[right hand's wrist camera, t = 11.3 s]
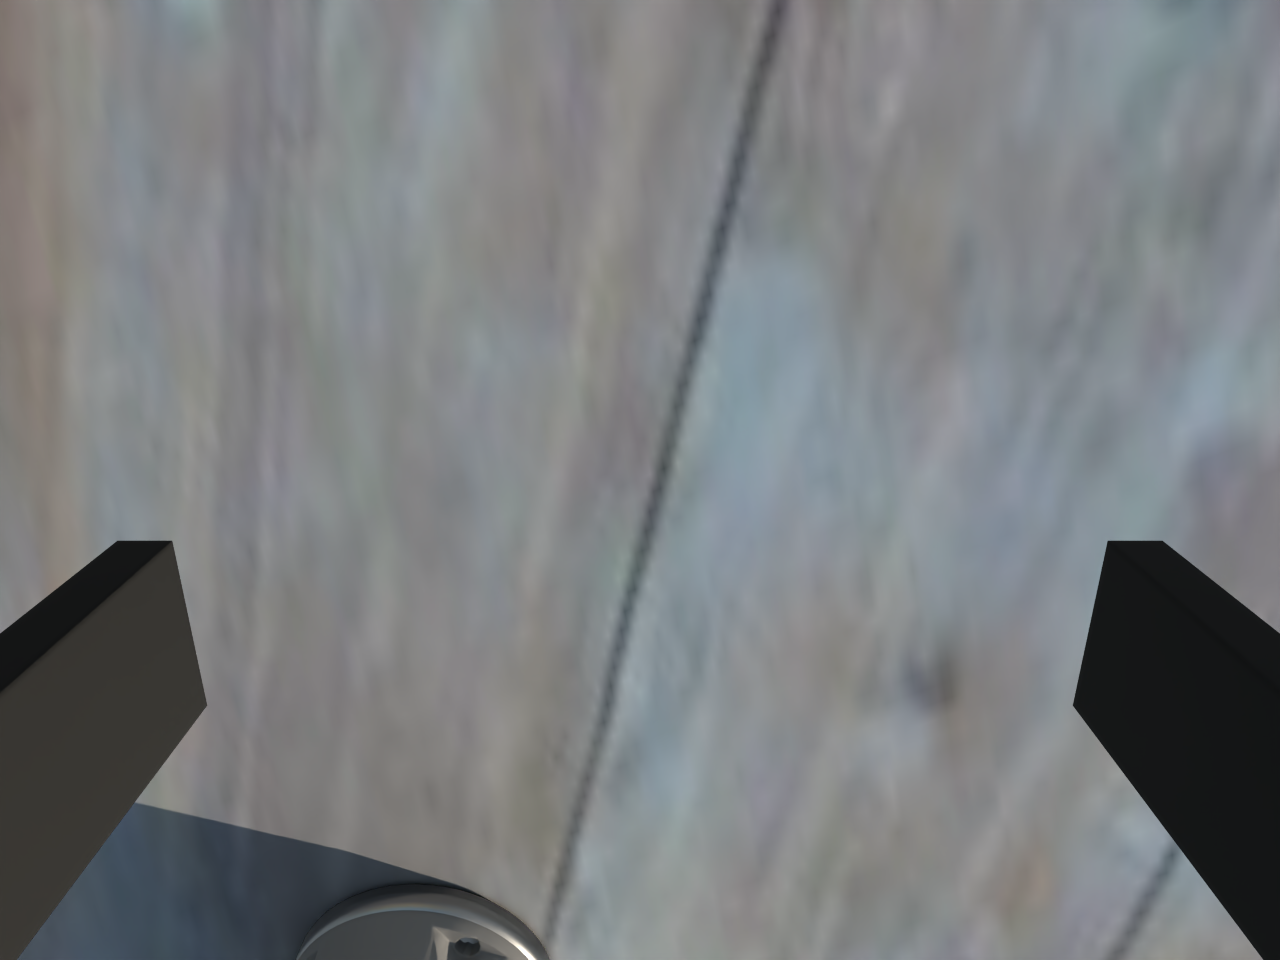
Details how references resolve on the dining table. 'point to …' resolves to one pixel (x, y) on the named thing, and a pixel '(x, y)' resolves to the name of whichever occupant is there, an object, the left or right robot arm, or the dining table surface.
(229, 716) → the dining table surface
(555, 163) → the dining table surface
